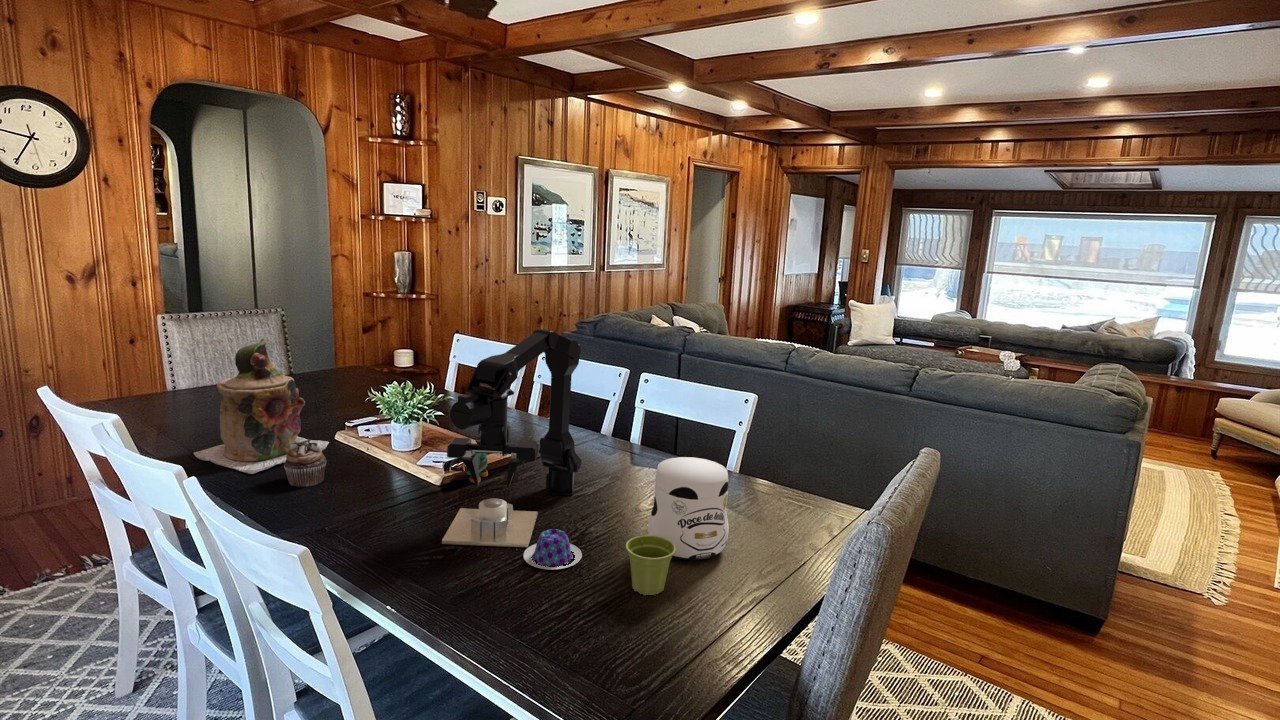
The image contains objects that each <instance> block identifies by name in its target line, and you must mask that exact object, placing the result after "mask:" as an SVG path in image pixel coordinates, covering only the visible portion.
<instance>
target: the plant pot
mask: <svg viewBox="0 0 1280 720" xmlns="http://www.w3.org/2000/svg"><path fill="white" fill-rule="evenodd" d="M625 549H626V551H627V554H628V557H629V563H630V564H629V565H630V573H631V574H630V575H631V576H630V577H631V587H632V589H634V590H633V591H634V592H638V593H639V594H640V595H641V594H643V595H642V596H646V595H654V594H657V595H659V594H660V593H663V592H662V591H664V590H665V586H666V581H667V576H668V572H669V567H670V563H671V560H672V558H673V557H672V555H673V554H674V553H675V550H676V548H675V545H674V544H673V543H672V542H671V541H669V540H667V539H665V538H662V537H658V536H649V534H648V535H638V536H634V537H632V538H630V539H629V540H627V542H626V543H625ZM654 596H655V595H654Z"/></svg>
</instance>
